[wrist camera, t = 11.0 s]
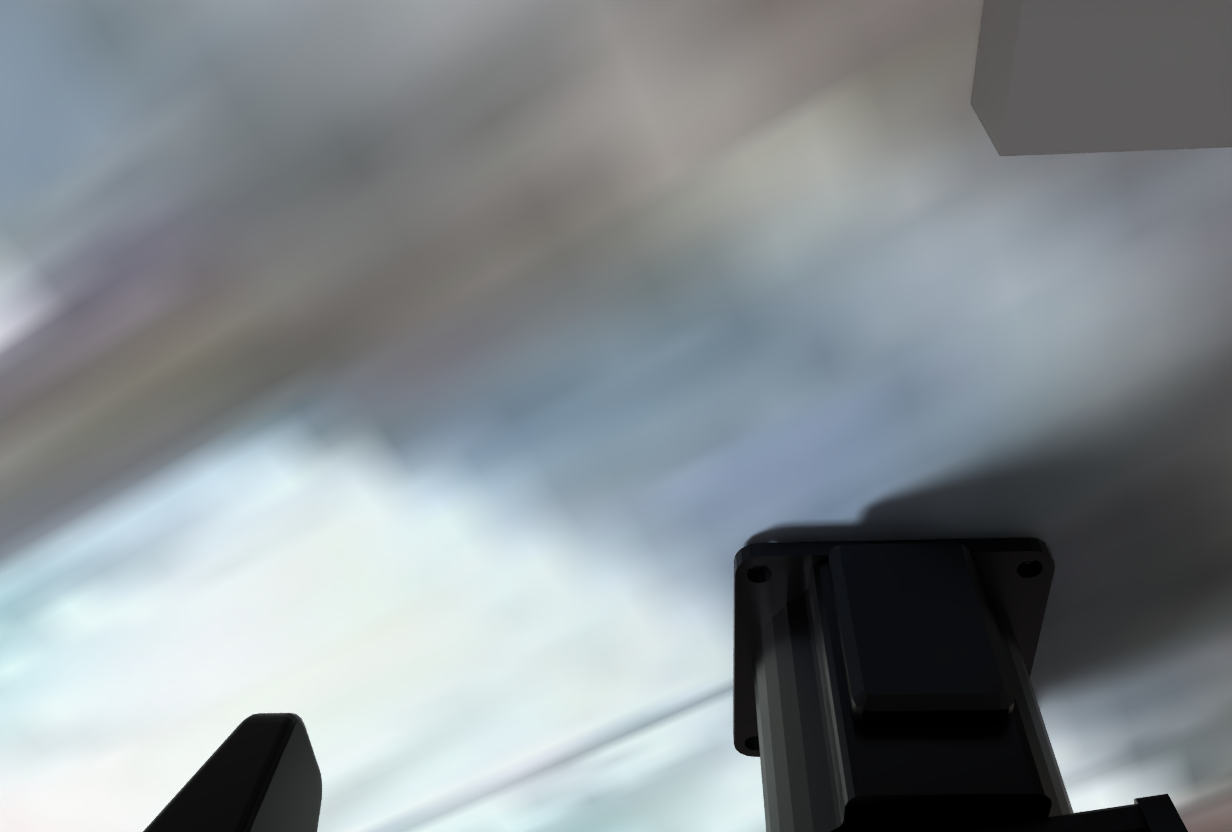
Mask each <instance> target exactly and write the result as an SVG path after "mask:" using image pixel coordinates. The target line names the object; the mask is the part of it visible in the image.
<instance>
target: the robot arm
mask: <svg viewBox="0 0 1232 832" xmlns="http://www.w3.org/2000/svg"><path fill="white" fill-rule="evenodd" d="M1028 560H1034V561H1032V562H1031V563H1028V564H1021V563H1023V562H1024V561H1028ZM757 565H762V566H766V567H765V568H764V569H759V570H756V569H751V568H752V567H753V566H757ZM1054 569H1055V565H1054V560H1053V557H1052V554H1051V552H1050V549H1049V547H1048V546H1047V545H1046V543H1045V542H1043V541H1041V540H1039V539H1036V538H983V539H935V540H887V541H839V542H790V543H756V544H750V545H747V546H745V547H743V548H742V549H740V550H739V552H738V553H737V554H736V556H735V559H734V654H733V736H734V745H735V748H736V750H738V751H739V752H740V753H741V754H744V755H746V756H753V757H760V760H761V772H762V784H763V796H764V808H765V820H766V832H1188V831H1187V829H1186V827H1185V825H1184V823H1183V821H1182V820H1181V818H1180V816H1179V814H1178V812H1177V810H1176V808H1175V806H1174V804H1173V803H1172V801H1171V799H1170V797H1169V795H1168V794H1163V795H1156V796H1150V797H1143V798H1136V799H1134V803H1135V804H1133V805H1126V806H1119V807H1113V808H1106V809H1099V810H1092V811H1086V812H1079V813H1073V810H1072V807H1071V804H1070V801H1069V798H1068V795H1067V792H1066V789H1065V786H1064V783H1063V779H1062V776H1061V773H1060V770H1059V767H1058V764H1057V761H1056V758H1055V755H1054V752H1053V749H1052V746H1051V743H1050V740H1049V737H1048V734H1047V730H1046V727H1045V724H1044V721H1043V718H1042V715H1041V712H1040V709H1039V706H1038V703H1037V700H1036V697H1035V694H1034V691H1033V688H1032V684H1031V681H1030V674H1031V670H1032V665H1033V661H1034V656H1035V652H1036V648H1037V643H1038V639H1039V635H1040V630H1041V626H1042V622H1043V617H1044V613H1045V608H1046V604H1047V600H1048V595H1049V591H1050V587H1051V582H1052V578H1053V574H1054ZM321 800H322V779H321V773H320V770H319V767H318V764H317V761H316V758H315V755H314V752H313V749H312V746H311V743H310V740H309V737H308V734H307V731H306V728H305V725H304V723H303V721H302V719H301V718H300V717H299V716H298V715H297V714H293V713H259V714H253V715H251V716H249V717H248V718H246V719H245V720H244V721H243V722H242V723H241V724H240V725H239V726H238V727H237V728H236V729H235V730H234V731H233V733H232V734H231V735H230V736H229V737H228V738H227V739H226V740H225V741H224V743H223V744H222V745H221V746H220V747H219V748H218V749H217V750H216V751H215V752H214V754H213V755H212V756H211V757H210V758H209V759H208V760H207V761H206V762H205V764H204V765H203V766H202V767H201V768H200V769H199V770H198V771H197V772H196V774H195V775H194V776H193V777H192V778H191V779H190V780H189V781H188V782H187V784H186V785H185V786H184V787H183V788H182V789H181V790H180V791H179V792H178V794H177V795H176V796H175V797H174V798H173V799H172V800H171V801H170V802H169V804H168V805H167V806H166V807H165V808H164V809H163V810H162V811H161V812H160V814H159V815H158V816H157V817H156V818H155V819H154V820H153V821H152V822H151V824H150V825H149V826H148V827H147V828H146V829H145V830H144V831H143V832H317V828H318V821H319V814H320V807H321Z"/></svg>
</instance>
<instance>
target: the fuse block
mask: <svg viewBox="0 0 1232 832" xmlns="http://www.w3.org/2000/svg"><path fill="white" fill-rule="evenodd" d="M971 105H972V107H973V109H974V111H975V113H976V114H977V116H978V118H979V120H980V122H981V123H982V125H983V127H984V129H985V130H986V132H987V134H988V136H989V138H990V139H991V141H992V143H993V145H994V147H995V148H996V150H997V152H998V154H999V156H1017V155H1042V154H1068V153H1093V152H1119V151H1144V150H1169V149H1195V148H1220V147H1232V0H984V5H983V12H982V20H981V28H980V36H979V43H978V51H977V59H976V67H975V75H974V82H973V90H972V98H971Z"/></svg>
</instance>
